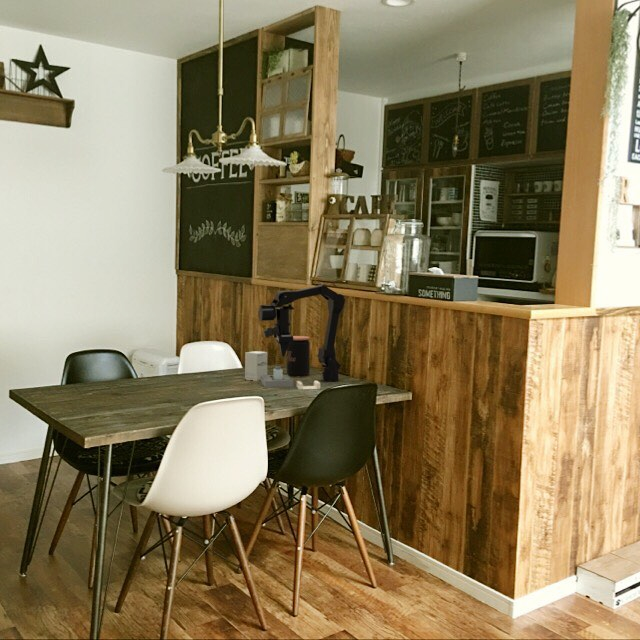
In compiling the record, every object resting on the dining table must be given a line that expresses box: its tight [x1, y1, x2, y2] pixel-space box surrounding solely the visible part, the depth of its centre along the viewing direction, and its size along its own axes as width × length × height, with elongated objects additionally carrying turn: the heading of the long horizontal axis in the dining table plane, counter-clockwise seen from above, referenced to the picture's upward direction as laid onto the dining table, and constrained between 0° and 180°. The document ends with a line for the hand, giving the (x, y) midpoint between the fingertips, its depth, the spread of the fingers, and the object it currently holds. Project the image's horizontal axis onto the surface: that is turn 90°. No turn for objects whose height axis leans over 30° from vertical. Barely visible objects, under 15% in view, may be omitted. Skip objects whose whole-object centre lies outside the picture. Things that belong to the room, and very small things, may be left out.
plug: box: [272, 365, 284, 380], centre depth 311 cm, size 4×4×8 cm
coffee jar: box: [286, 335, 311, 377], centre depth 345 cm, size 11×11×18 cm
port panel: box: [260, 374, 294, 389], centre depth 315 cm, size 12×16×4 cm
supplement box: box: [244, 350, 268, 382], centre depth 331 cm, size 7×7×13 cm
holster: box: [295, 380, 321, 390], centre depth 307 cm, size 9×7×3 cm
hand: (283, 356), depth 316 cm, fingers closed
